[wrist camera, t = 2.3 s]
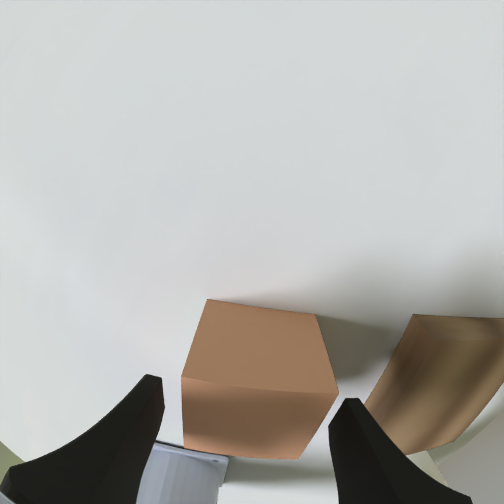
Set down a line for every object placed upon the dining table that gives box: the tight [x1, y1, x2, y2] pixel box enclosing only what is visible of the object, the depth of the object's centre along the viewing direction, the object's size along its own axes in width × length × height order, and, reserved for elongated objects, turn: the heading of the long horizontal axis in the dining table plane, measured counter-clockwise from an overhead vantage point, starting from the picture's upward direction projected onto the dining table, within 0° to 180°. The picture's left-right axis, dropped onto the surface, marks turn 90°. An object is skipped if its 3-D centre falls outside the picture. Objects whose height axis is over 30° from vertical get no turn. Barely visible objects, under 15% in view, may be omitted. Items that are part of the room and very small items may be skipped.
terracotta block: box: [181, 299, 339, 459], centre depth 11 cm, size 5×5×5 cm
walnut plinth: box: [364, 314, 504, 455], centre depth 13 cm, size 12×12×3 cm
